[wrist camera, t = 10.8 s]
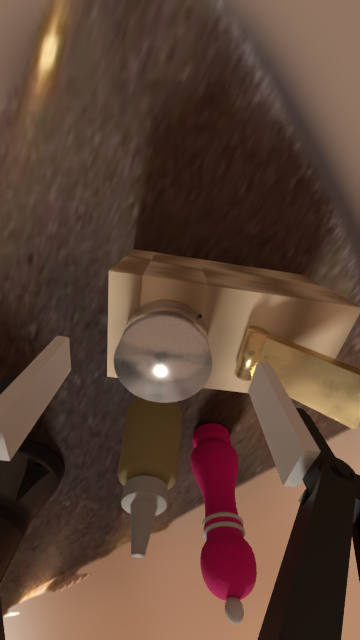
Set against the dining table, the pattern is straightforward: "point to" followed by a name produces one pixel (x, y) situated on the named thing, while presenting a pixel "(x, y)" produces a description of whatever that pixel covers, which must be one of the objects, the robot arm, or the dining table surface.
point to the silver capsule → (164, 352)
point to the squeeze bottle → (148, 464)
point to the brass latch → (304, 375)
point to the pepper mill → (222, 520)
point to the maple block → (229, 306)
